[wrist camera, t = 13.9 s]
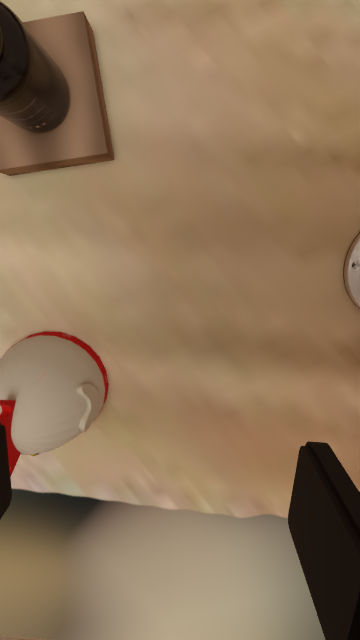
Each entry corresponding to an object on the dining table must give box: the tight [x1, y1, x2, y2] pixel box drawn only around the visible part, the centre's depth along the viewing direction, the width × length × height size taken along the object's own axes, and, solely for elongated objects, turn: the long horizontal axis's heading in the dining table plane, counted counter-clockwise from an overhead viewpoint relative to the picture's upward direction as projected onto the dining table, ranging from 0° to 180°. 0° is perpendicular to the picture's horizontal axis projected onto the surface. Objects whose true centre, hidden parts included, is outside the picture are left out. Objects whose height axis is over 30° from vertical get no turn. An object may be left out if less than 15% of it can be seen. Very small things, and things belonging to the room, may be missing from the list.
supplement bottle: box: [0, 1, 69, 133], centre depth 26 cm, size 7×7×12 cm
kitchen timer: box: [0, 332, 108, 477], centre depth 36 cm, size 14×14×15 cm
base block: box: [0, 12, 114, 176], centre depth 33 cm, size 12×12×3 cm
